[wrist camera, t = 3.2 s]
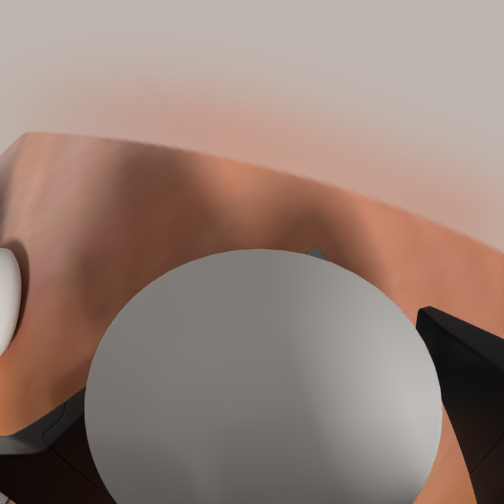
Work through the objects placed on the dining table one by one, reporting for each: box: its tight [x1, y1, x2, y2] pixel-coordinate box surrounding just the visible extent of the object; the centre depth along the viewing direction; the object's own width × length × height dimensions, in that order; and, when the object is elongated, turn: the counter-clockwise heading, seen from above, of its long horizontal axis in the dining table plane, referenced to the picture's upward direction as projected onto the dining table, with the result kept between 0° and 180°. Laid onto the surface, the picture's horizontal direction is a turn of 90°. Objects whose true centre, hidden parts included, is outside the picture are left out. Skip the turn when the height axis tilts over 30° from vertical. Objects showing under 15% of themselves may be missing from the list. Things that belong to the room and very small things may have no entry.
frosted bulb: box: [85, 249, 442, 504], centre depth 8 cm, size 4×4×13 cm
